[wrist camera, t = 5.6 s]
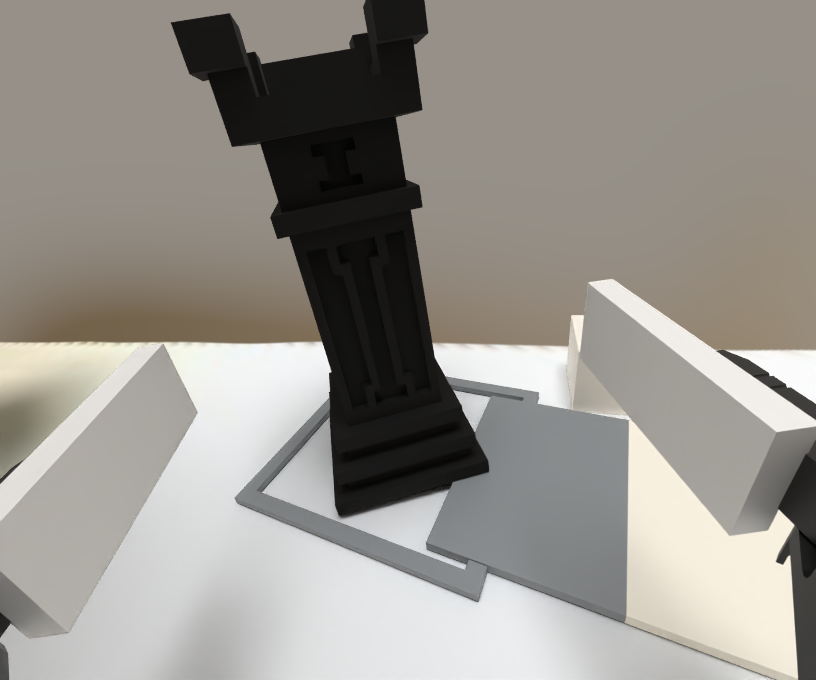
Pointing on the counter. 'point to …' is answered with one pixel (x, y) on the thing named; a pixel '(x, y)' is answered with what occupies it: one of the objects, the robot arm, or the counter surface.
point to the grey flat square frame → (357, 540)
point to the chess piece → (351, 239)
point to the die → (586, 379)
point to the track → (618, 535)
